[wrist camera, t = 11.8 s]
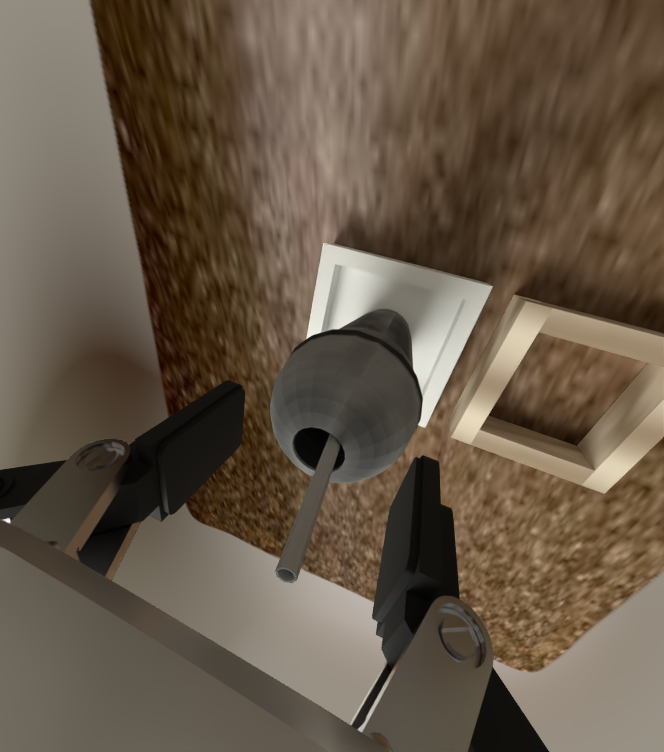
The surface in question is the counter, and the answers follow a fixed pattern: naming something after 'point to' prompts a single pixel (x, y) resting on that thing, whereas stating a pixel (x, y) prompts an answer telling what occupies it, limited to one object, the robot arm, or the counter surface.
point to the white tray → (401, 308)
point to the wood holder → (613, 430)
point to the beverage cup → (344, 412)
